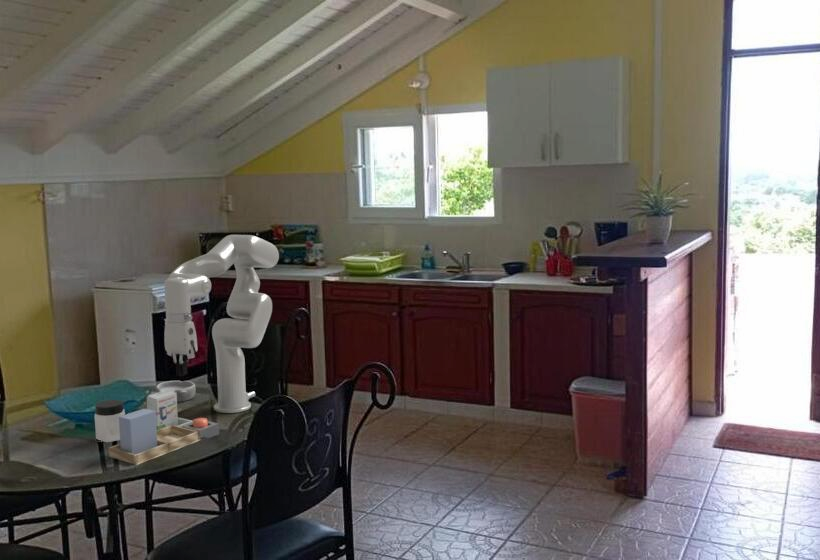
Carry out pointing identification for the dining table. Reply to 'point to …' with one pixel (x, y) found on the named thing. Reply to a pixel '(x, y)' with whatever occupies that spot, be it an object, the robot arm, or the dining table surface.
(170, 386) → the dish
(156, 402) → the ink box
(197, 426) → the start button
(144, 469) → the dining table surface
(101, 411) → the jar
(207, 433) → the grey square frame
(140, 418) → the seated billet
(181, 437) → the wooden compartment tray
